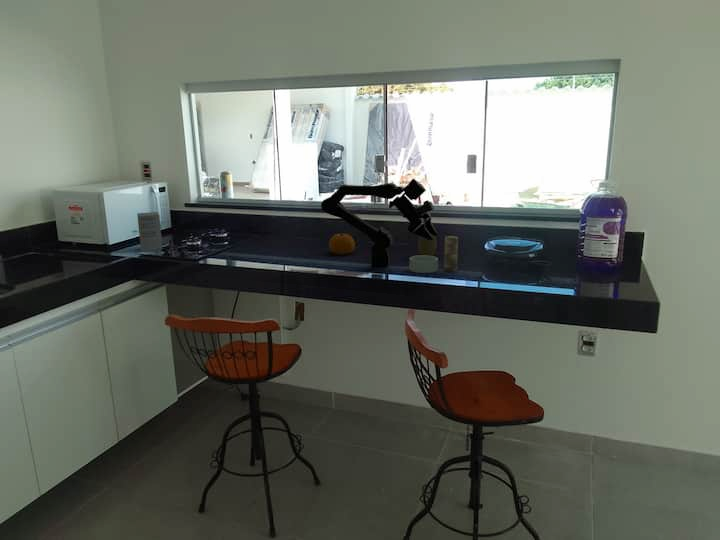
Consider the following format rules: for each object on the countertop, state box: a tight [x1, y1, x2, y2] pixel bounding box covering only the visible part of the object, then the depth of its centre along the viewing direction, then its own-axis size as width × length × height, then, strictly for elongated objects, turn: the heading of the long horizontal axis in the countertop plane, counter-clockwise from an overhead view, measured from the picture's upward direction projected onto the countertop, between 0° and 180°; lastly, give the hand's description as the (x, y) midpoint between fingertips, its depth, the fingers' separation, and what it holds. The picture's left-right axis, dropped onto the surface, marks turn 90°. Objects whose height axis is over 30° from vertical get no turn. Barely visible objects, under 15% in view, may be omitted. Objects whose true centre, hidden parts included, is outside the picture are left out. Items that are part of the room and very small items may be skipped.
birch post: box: [443, 235, 459, 272], centre depth 217 cm, size 5×5×13 cm
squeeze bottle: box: [417, 216, 437, 256], centre depth 242 cm, size 8×8×18 cm
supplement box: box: [136, 211, 164, 252], centre depth 259 cm, size 10×9×17 cm
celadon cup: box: [408, 254, 439, 274], centre depth 219 cm, size 11×11×4 cm
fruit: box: [328, 231, 356, 256], centre depth 248 cm, size 12×12×10 cm
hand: (434, 237), depth 217 cm, fingers open, 9 cm apart
